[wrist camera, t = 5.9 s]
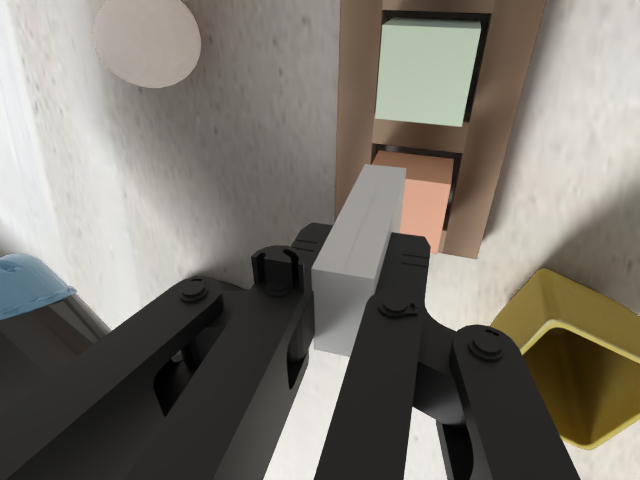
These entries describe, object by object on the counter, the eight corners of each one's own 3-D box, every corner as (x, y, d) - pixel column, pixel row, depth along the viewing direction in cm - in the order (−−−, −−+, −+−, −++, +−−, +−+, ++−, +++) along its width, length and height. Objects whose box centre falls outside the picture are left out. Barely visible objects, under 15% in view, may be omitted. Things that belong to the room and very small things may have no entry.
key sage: (386, 100, 28) (375, 118, 25) (394, 17, 25) (382, 24, 22) (463, 107, 27) (461, 126, 24) (480, 20, 24) (481, 29, 21)
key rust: (373, 213, 31) (362, 241, 28) (378, 150, 28) (366, 173, 25) (441, 223, 30) (437, 254, 27) (453, 158, 27) (451, 184, 24)
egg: (231, 65, 30) (170, 90, 24) (167, 83, 33) (97, 110, 27) (198, -29, 28) (121, -28, 22) (131, -3, 30) (44, 6, 24)
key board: (340, 222, 35) (334, 234, 33) (357, -226, 20) (347, -242, 19) (476, 244, 32) (476, 259, 31) (606, -254, 18) (620, -275, 16)
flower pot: (534, 235, 30) (553, 318, 23) (646, 286, 30) (700, 387, 23) (471, 310, 36) (470, 396, 29) (565, 354, 35) (588, 453, 28)
